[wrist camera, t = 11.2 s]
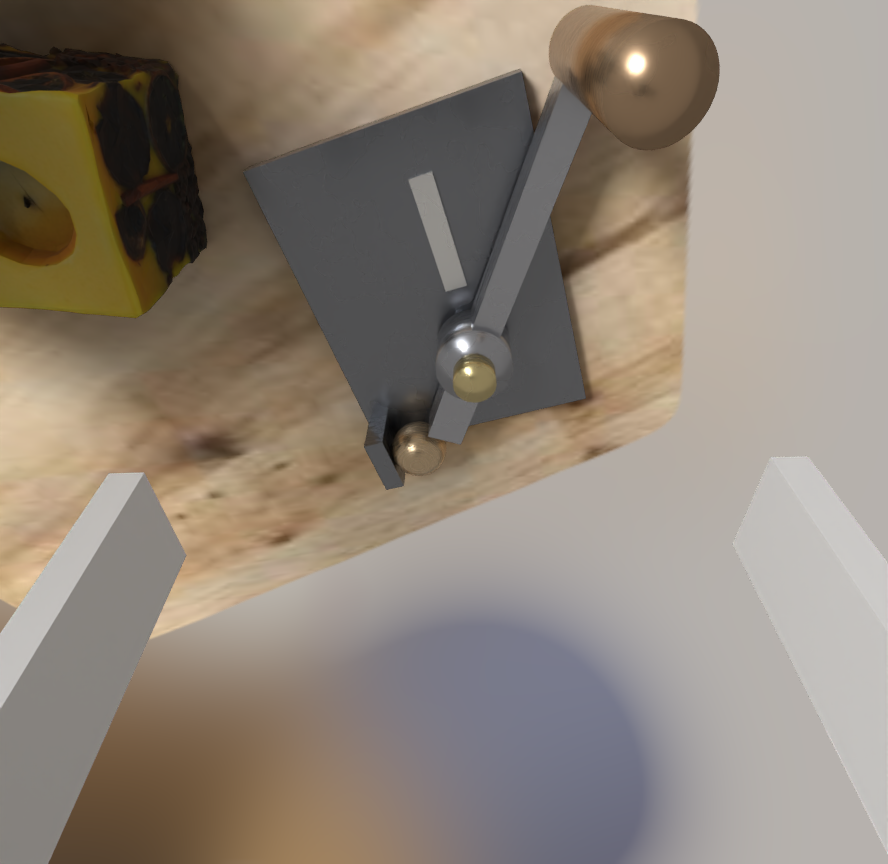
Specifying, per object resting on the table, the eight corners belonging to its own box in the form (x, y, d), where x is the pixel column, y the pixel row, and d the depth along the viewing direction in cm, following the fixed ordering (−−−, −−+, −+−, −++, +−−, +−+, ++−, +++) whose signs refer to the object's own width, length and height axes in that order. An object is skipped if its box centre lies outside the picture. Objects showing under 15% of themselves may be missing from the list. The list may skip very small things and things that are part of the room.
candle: (-19, 39, 29) (-195, 59, 21) (177, 56, 30) (75, 82, 22) (52, 235, 36) (-64, 306, 28) (213, 248, 36) (144, 321, 28)
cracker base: (249, 166, 33) (208, 201, 27) (544, 59, 29) (562, 76, 24) (389, 452, 46) (380, 512, 41) (603, 403, 42) (623, 461, 37)
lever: (552, -12, 26) (613, -10, 16) (645, 25, 27) (764, 50, 16) (413, 408, 41) (397, 553, 31) (476, 424, 42) (481, 570, 31)
